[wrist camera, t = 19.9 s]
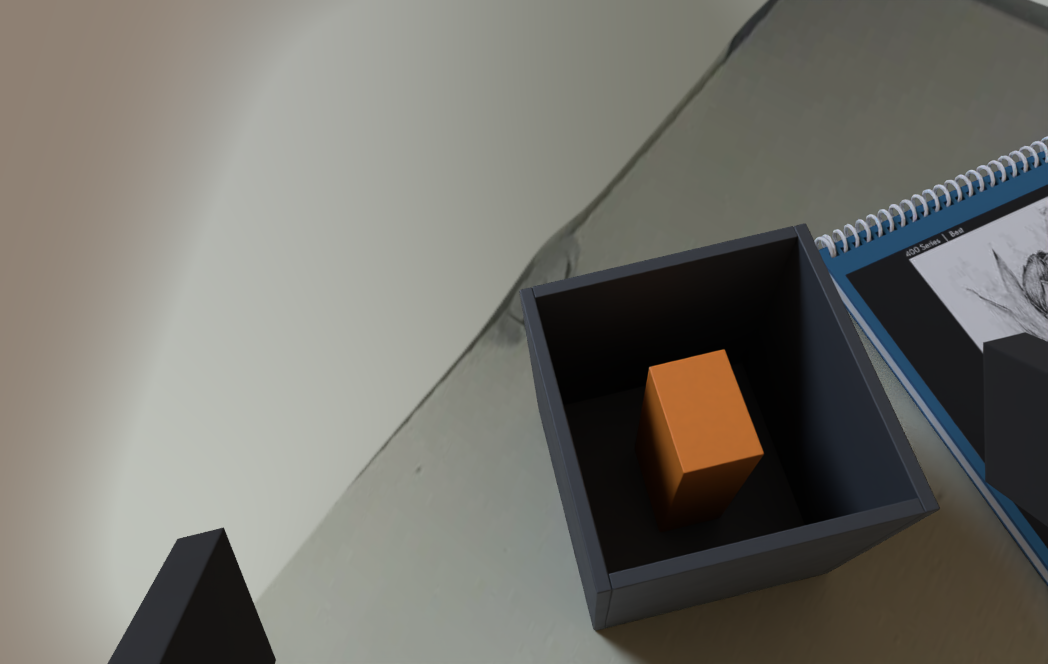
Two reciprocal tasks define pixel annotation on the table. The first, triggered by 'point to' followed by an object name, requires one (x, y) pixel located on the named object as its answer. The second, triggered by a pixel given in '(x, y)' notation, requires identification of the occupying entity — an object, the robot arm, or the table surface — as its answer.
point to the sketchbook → (955, 302)
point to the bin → (774, 407)
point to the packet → (694, 440)
